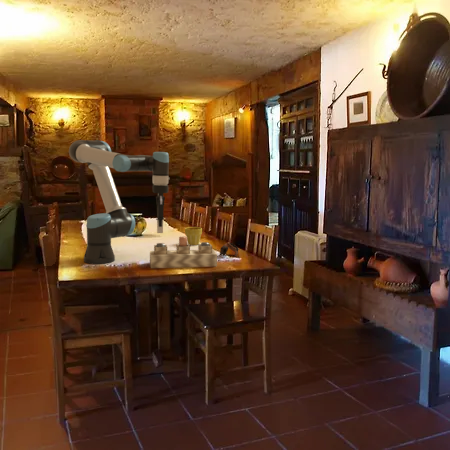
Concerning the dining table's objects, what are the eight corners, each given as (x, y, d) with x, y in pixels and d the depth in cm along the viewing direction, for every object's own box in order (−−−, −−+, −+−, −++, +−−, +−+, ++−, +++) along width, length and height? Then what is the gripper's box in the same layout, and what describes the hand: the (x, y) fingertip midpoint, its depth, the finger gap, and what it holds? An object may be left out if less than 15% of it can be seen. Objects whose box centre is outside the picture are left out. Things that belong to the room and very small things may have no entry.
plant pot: (182, 245, 296) (182, 229, 295) (187, 242, 306) (187, 226, 305) (199, 246, 294) (199, 229, 292) (204, 243, 304) (204, 227, 302)
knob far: (201, 252, 245) (201, 243, 245) (200, 250, 249) (200, 242, 248) (209, 252, 246) (209, 243, 245) (208, 250, 250) (208, 242, 249)
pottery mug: (223, 253, 276) (231, 241, 275) (235, 263, 272) (243, 250, 270) (212, 251, 265) (220, 239, 264) (225, 261, 261) (233, 248, 260)
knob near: (156, 253, 241) (156, 244, 240) (156, 251, 245) (156, 243, 244) (165, 253, 242) (165, 244, 241) (164, 251, 246) (164, 243, 245)
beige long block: (151, 268, 237) (150, 248, 236) (149, 262, 249) (149, 243, 248) (216, 266, 244) (217, 247, 242) (212, 260, 255) (213, 242, 254)
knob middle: (179, 246, 243) (179, 237, 242) (178, 245, 246) (178, 236, 246) (187, 246, 243) (187, 237, 243) (186, 245, 247) (186, 236, 247)
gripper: (169, 185, 233) (168, 235, 237) (167, 183, 245) (166, 230, 249) (153, 185, 231) (152, 235, 235) (151, 183, 244) (151, 230, 248)
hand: (160, 232), depth 242 cm, fingers closed
